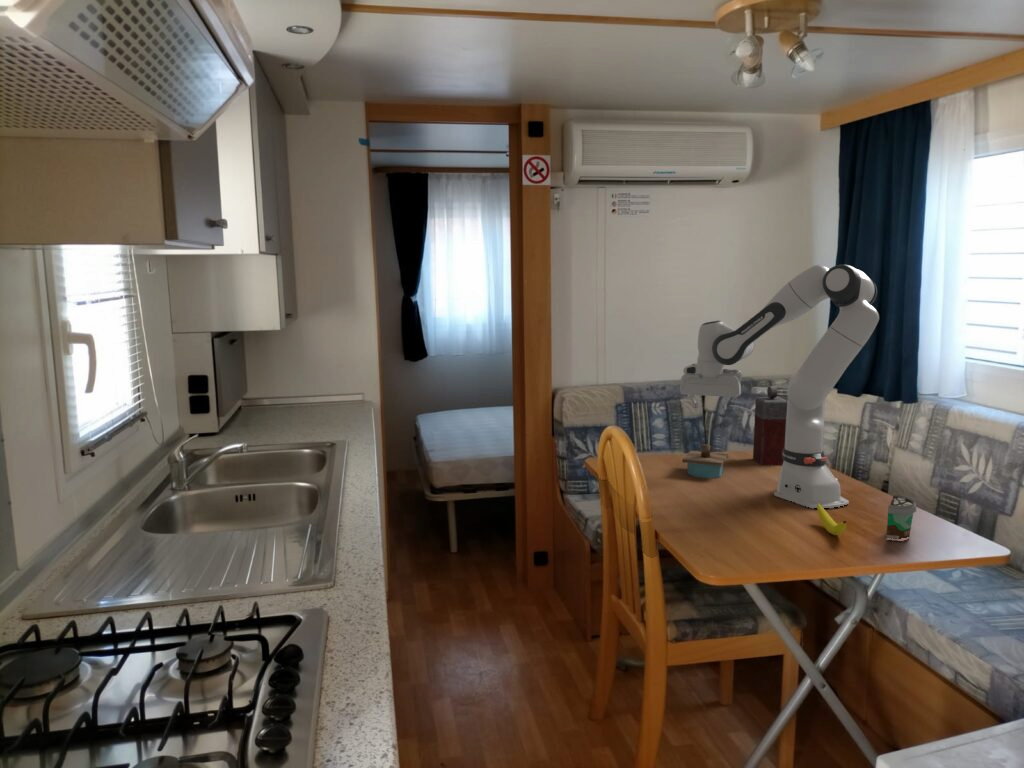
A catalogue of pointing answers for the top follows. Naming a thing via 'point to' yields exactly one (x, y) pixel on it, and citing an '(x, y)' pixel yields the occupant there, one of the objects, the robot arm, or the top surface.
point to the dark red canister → (769, 428)
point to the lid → (705, 457)
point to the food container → (900, 516)
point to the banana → (830, 522)
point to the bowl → (704, 470)
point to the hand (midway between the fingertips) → (709, 408)
